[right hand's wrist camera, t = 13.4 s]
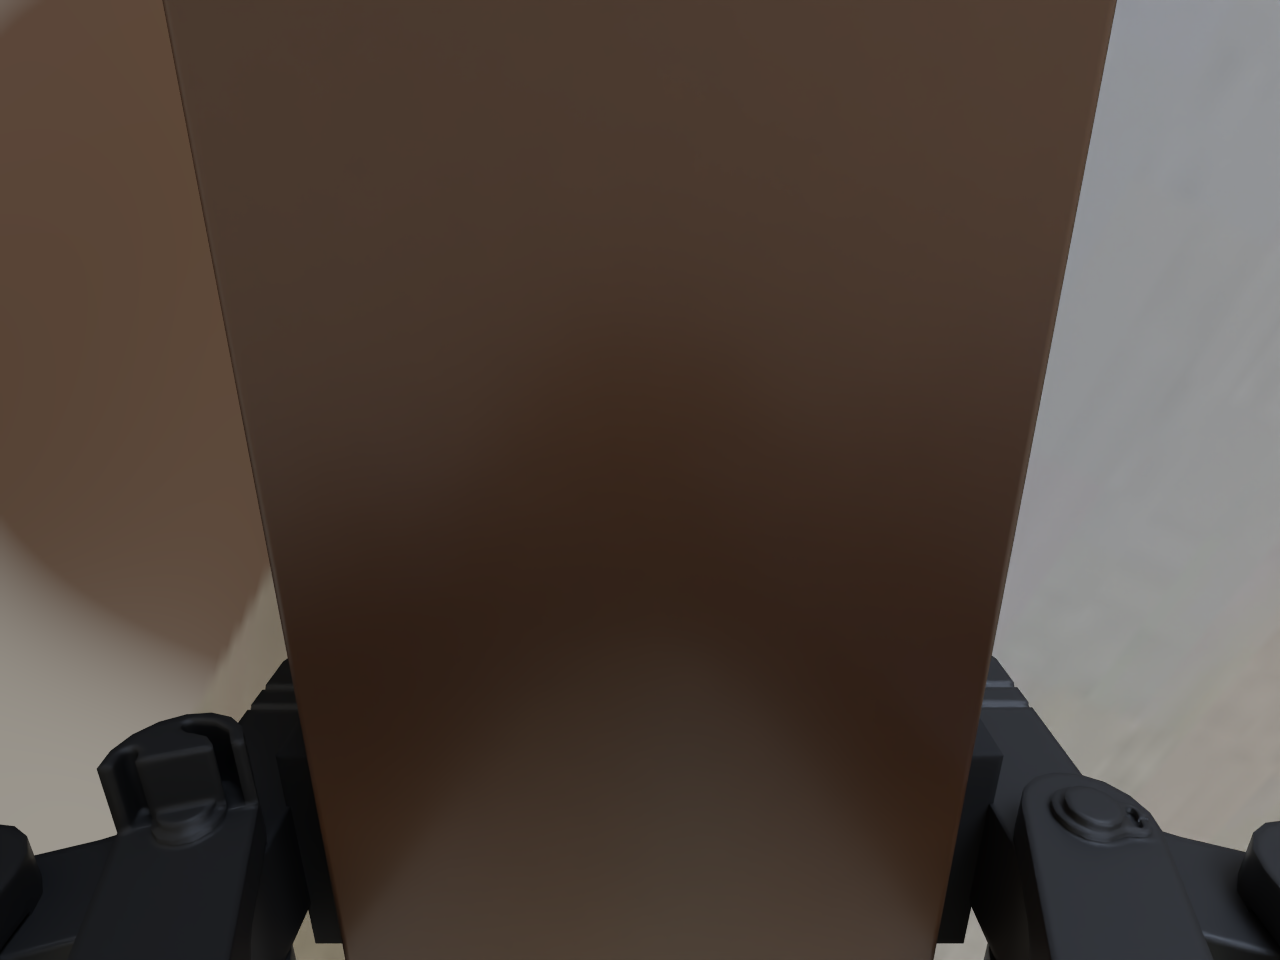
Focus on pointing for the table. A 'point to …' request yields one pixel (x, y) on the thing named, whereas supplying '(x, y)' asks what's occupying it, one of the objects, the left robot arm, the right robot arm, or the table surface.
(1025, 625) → the table surface
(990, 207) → the beam
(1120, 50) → the table surface
